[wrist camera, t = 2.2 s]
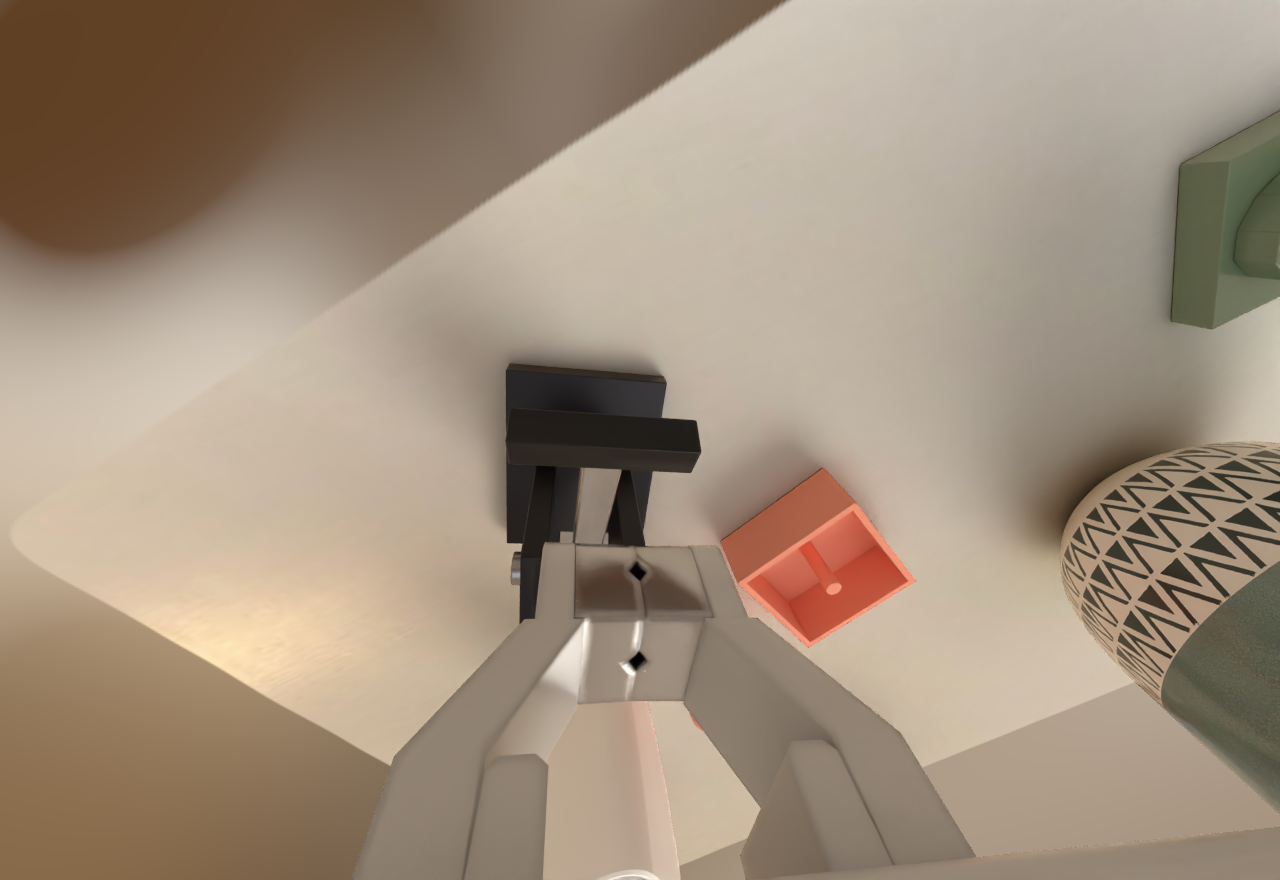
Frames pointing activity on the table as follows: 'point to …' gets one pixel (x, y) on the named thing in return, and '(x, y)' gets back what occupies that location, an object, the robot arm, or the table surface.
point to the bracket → (550, 492)
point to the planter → (1191, 593)
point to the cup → (608, 799)
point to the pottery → (814, 560)
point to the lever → (599, 455)
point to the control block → (1229, 228)
